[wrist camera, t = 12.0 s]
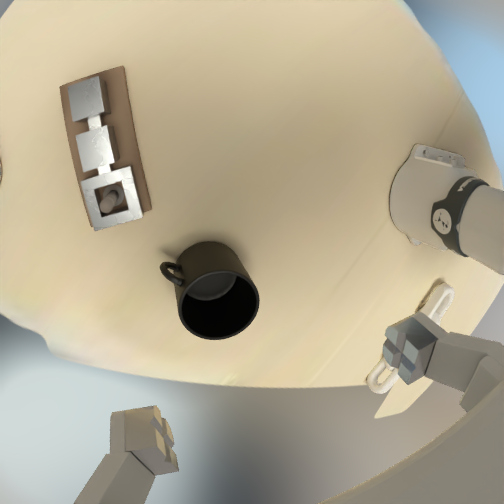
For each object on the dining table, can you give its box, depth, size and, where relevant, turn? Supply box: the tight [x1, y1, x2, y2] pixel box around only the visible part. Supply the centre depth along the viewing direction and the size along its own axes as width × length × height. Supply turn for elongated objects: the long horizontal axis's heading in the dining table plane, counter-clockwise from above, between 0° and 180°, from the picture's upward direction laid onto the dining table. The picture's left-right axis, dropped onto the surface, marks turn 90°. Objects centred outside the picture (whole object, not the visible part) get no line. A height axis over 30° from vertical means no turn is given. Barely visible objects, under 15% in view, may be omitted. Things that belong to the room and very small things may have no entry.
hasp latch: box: [68, 76, 144, 231], centre depth 28 cm, size 16×6×4 cm, turn 9°
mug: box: [160, 242, 259, 340], centre depth 37 cm, size 9×12×9 cm
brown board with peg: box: [60, 66, 152, 227], centre depth 28 cm, size 8×18×7 cm, turn 9°
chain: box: [367, 283, 455, 394], centre depth 59 cm, size 30×6×6 cm, turn 147°
